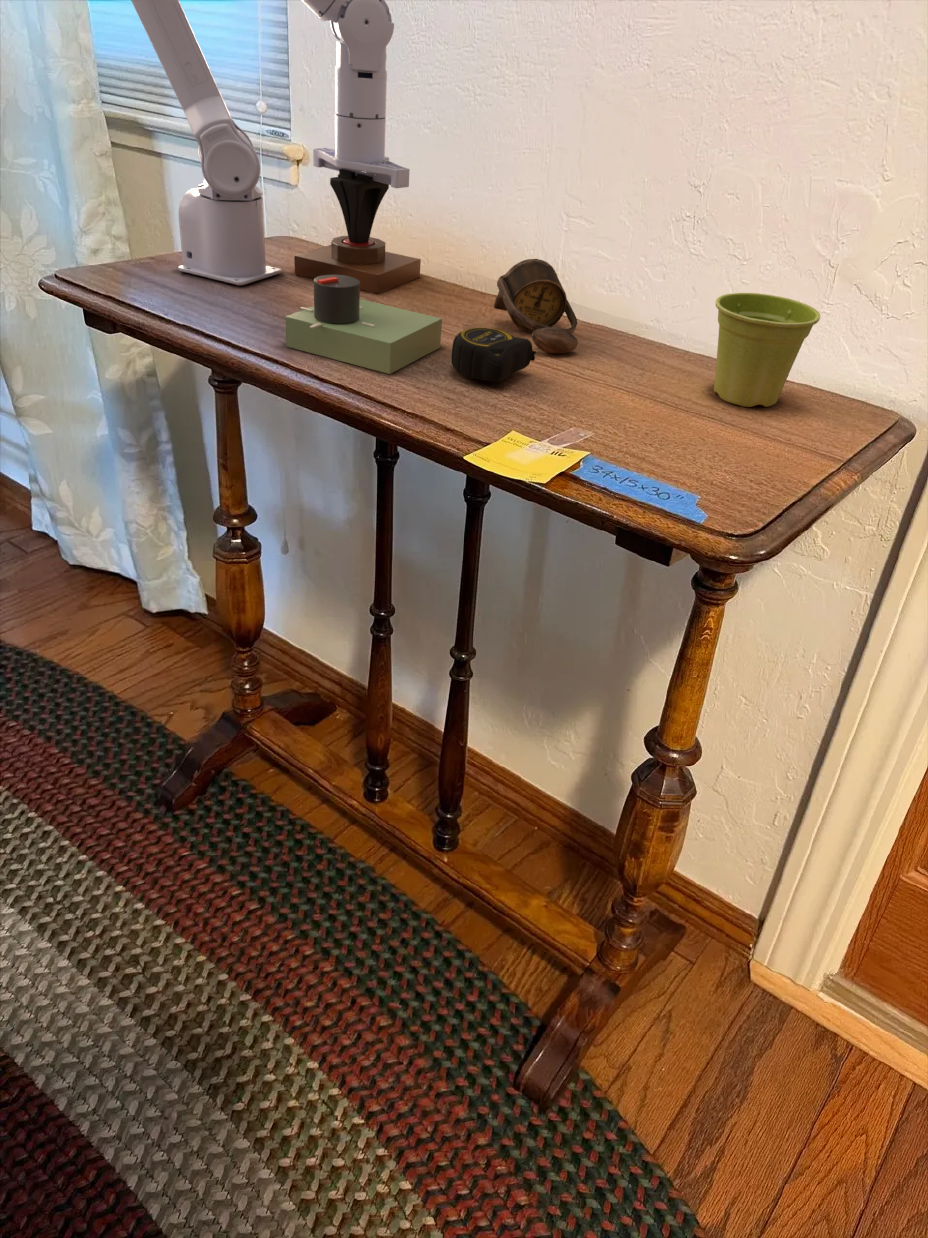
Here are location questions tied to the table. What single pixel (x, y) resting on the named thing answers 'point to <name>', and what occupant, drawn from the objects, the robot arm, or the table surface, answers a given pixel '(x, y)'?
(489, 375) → the tape measure
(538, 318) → the antique clock
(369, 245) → the red button
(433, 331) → the dial panel
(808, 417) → the table surface
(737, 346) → the plant pot
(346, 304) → the dial knob
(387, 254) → the button block
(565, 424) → the table surface
